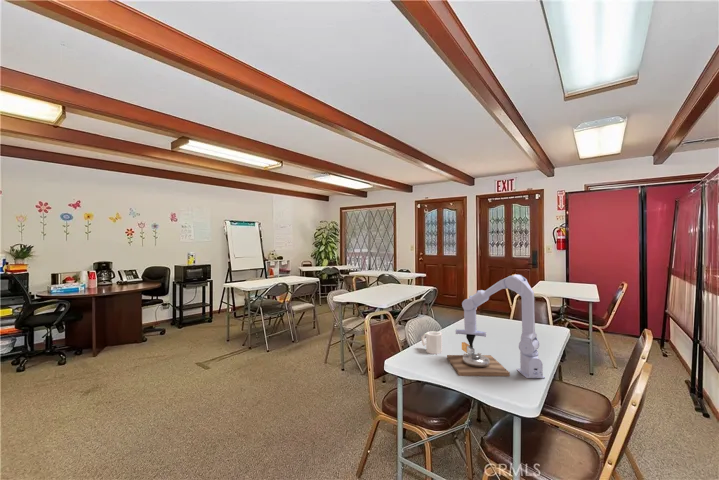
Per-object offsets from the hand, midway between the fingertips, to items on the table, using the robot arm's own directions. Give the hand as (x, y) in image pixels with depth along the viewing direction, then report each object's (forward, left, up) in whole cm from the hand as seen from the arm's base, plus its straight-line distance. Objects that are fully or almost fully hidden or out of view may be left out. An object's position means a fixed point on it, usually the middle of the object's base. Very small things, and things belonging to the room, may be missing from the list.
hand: (471, 349), depth 161 cm
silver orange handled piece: (-6, +1, -3) cm, 7 cm away
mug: (+13, +18, -5) cm, 22 cm away
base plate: (-9, +1, -5) cm, 11 cm away
